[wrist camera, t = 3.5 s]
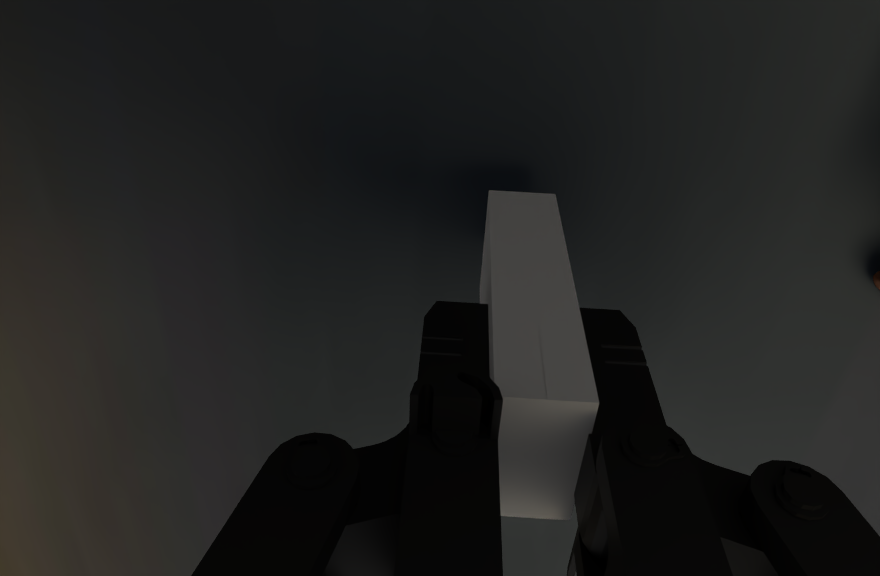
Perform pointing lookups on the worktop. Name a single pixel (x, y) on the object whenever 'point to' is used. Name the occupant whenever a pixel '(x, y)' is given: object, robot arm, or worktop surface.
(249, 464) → the worktop surface
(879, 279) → the pottery mug
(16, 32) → the worktop surface
